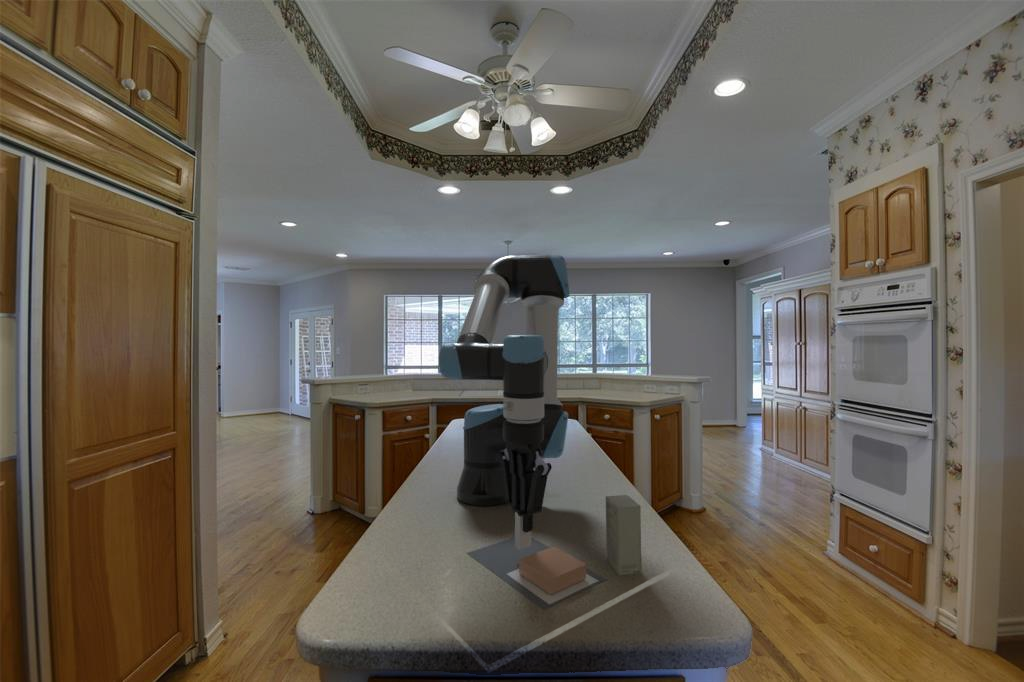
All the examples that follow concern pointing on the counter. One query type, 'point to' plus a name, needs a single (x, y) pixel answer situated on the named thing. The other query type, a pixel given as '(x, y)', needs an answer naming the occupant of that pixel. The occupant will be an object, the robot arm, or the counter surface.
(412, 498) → the counter surface
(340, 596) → the counter surface
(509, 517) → the counter surface
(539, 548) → the mat
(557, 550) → the tile
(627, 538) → the skincare box
